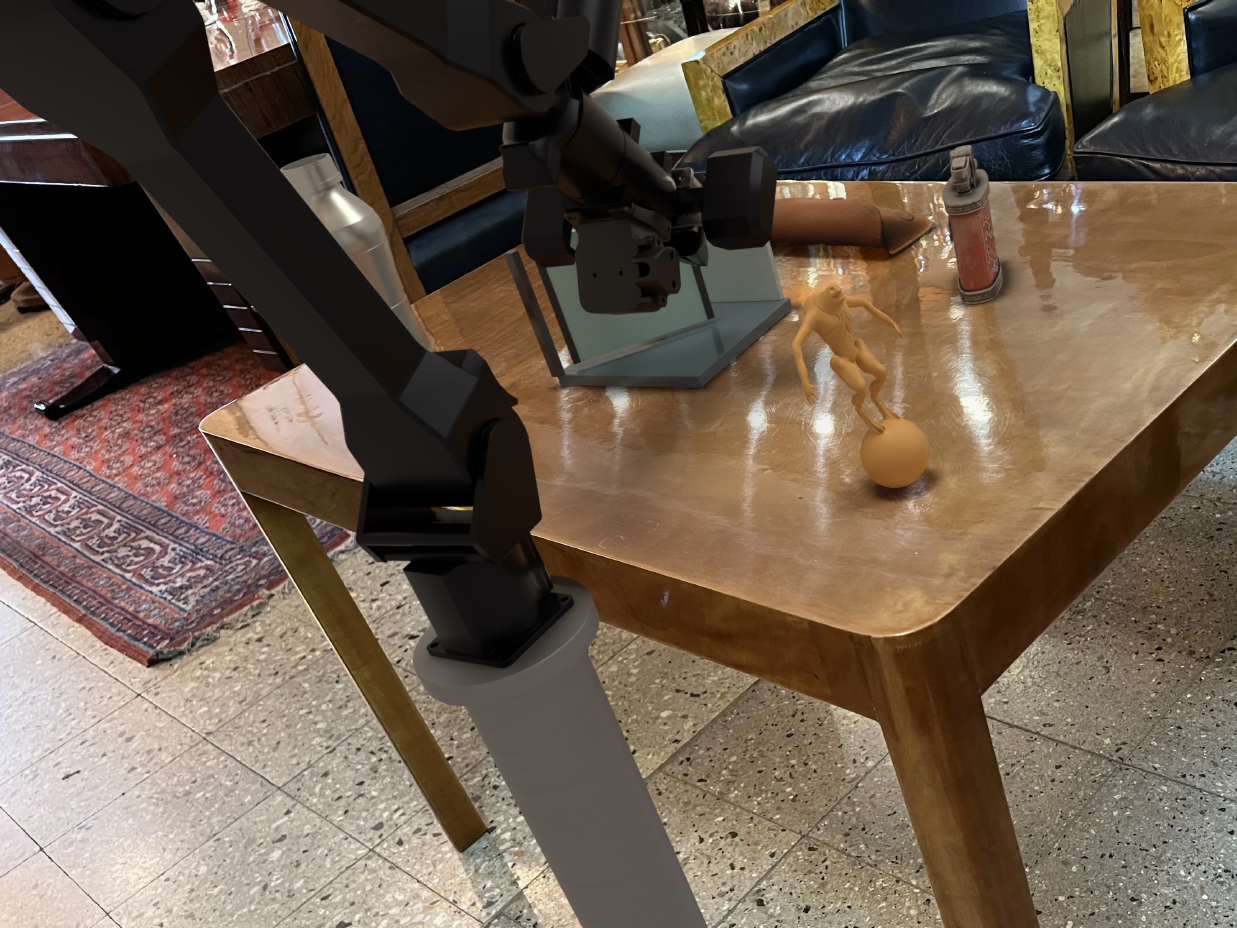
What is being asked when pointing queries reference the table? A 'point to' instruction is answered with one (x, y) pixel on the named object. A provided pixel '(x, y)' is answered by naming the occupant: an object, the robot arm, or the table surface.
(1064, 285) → the table surface
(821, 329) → the figurine
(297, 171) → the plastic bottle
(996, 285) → the lighter
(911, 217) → the sunglasses case
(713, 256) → the shower stall
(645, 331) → the shower door
